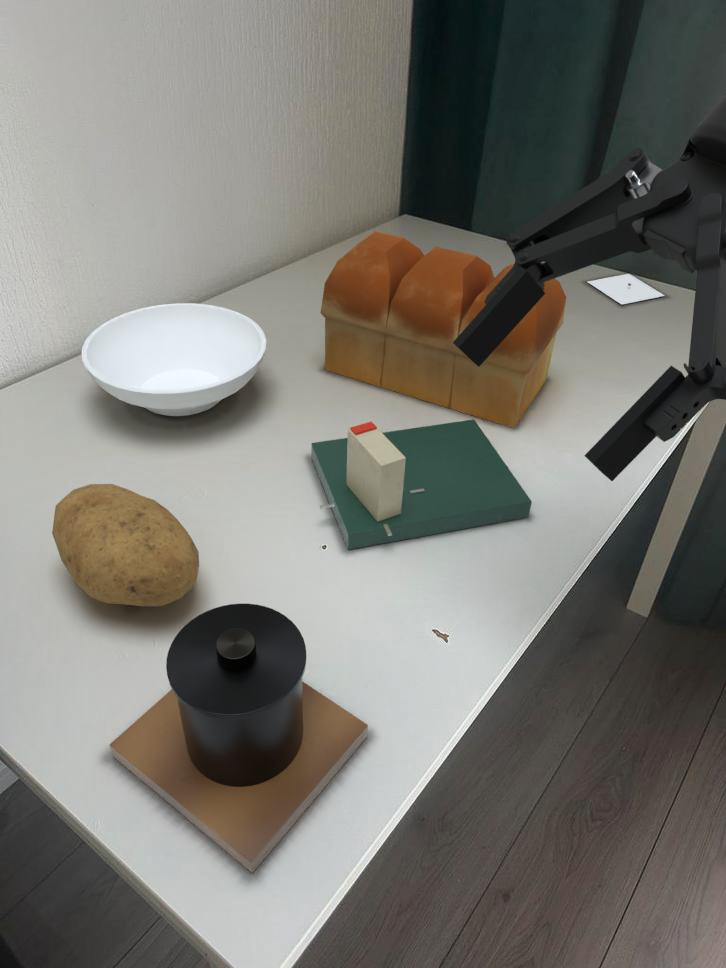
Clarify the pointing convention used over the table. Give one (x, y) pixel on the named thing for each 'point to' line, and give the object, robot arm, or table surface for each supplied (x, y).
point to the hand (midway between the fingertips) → (525, 407)
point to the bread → (433, 328)
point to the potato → (124, 546)
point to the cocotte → (239, 692)
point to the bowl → (175, 356)
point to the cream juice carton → (375, 471)
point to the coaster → (625, 289)
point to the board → (240, 810)
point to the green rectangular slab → (427, 485)
